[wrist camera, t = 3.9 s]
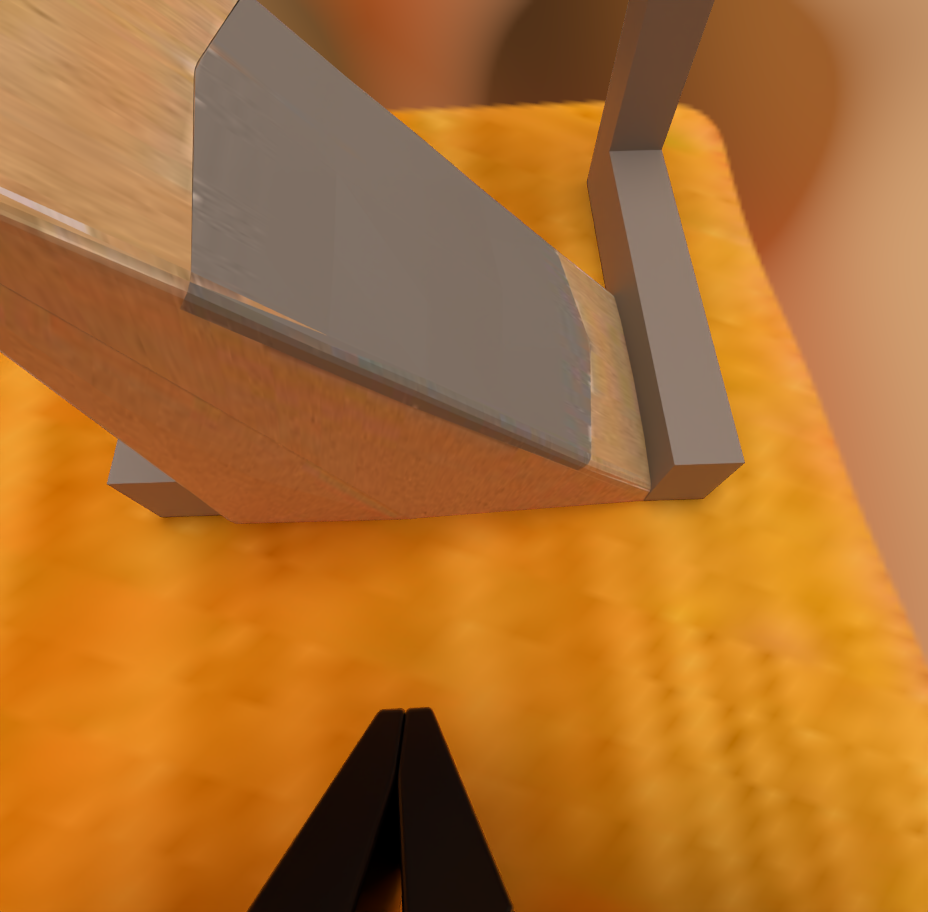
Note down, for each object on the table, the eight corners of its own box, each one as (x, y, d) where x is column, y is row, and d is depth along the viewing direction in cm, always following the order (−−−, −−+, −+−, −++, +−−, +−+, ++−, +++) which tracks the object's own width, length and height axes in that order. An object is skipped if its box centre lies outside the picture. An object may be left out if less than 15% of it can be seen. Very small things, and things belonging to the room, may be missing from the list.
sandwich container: (684, 509, 19) (1283, -26, 5) (229, 535, 18) (-462, 39, 5) (637, 307, 22) (911, -330, 9) (255, 325, 22) (-96, -304, 8)
